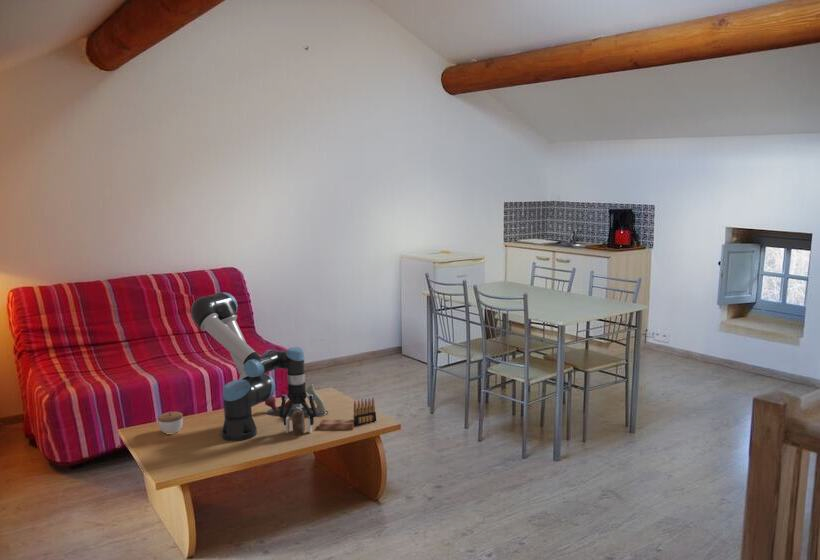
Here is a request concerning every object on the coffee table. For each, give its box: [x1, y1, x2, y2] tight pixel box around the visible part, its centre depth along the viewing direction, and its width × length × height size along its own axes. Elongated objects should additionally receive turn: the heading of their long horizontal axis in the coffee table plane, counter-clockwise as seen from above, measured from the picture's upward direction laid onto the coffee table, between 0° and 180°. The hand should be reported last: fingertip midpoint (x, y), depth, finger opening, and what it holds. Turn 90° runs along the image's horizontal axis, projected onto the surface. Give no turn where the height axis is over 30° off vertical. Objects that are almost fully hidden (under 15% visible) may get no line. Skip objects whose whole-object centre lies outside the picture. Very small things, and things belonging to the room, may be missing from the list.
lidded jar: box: [157, 411, 184, 434], centre depth 319 cm, size 11×11×9 cm
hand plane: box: [264, 383, 329, 417], centre depth 340 cm, size 7×31×15 cm, turn 79°
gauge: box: [291, 410, 306, 436], centre depth 316 cm, size 4×10×10 cm, turn 176°
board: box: [318, 419, 355, 430], centre depth 320 cm, size 15×6×2 cm, turn 86°
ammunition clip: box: [353, 396, 377, 427], centre depth 324 cm, size 11×2×12 cm, turn 117°
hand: (299, 431), depth 315 cm, fingers open, 9 cm apart
